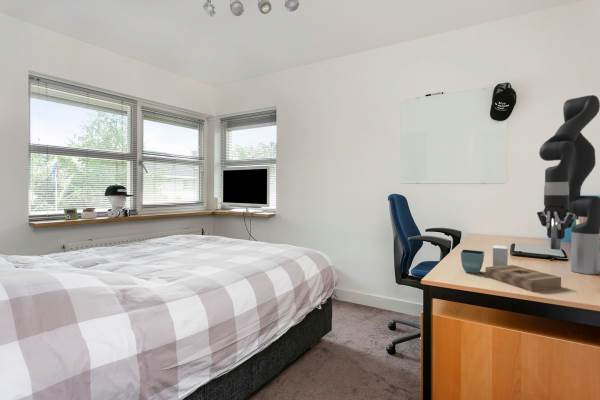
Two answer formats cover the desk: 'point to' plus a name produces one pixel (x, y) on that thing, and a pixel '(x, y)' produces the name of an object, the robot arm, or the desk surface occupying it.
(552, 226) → the peg
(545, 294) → the desk surface
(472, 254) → the flower pot
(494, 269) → the hole block
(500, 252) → the small box
